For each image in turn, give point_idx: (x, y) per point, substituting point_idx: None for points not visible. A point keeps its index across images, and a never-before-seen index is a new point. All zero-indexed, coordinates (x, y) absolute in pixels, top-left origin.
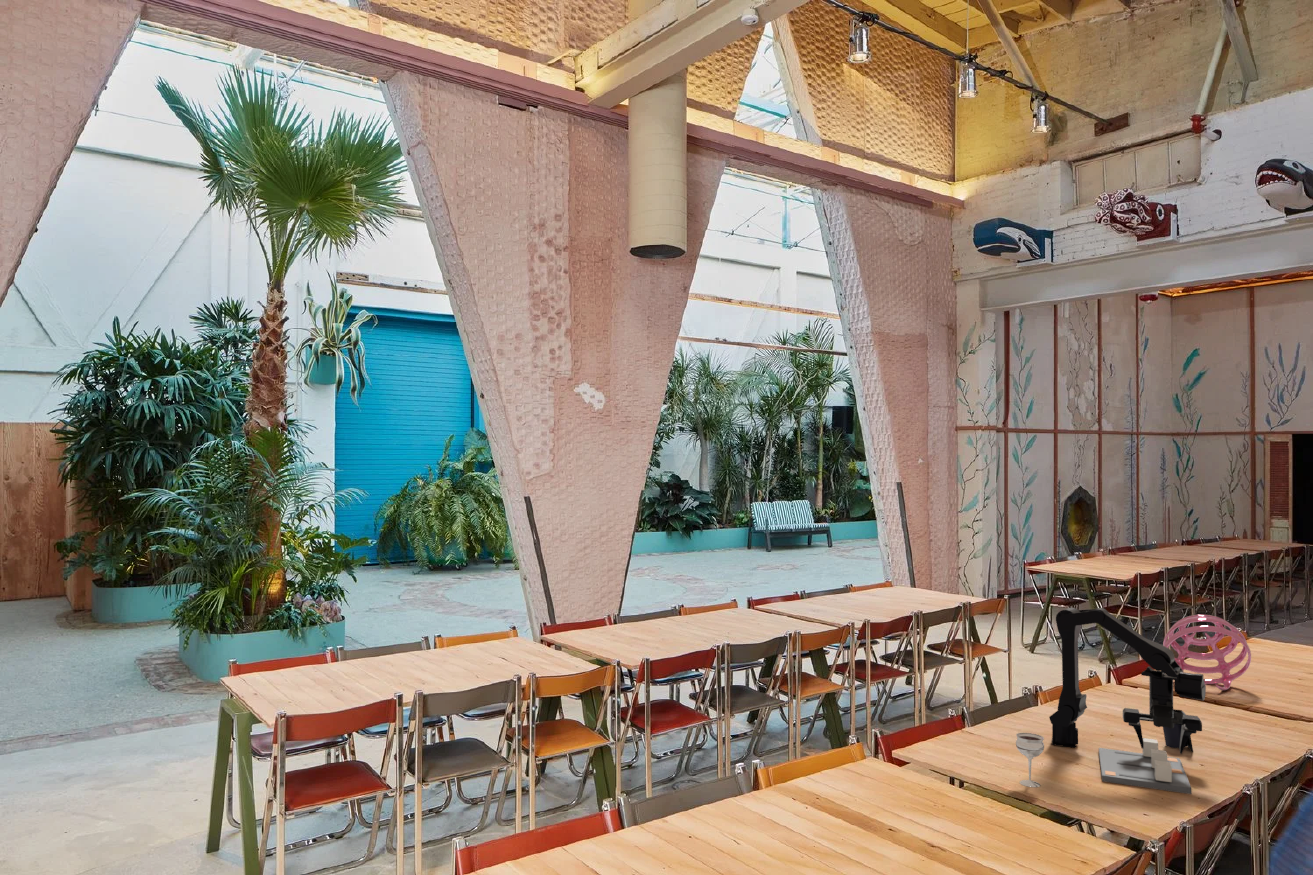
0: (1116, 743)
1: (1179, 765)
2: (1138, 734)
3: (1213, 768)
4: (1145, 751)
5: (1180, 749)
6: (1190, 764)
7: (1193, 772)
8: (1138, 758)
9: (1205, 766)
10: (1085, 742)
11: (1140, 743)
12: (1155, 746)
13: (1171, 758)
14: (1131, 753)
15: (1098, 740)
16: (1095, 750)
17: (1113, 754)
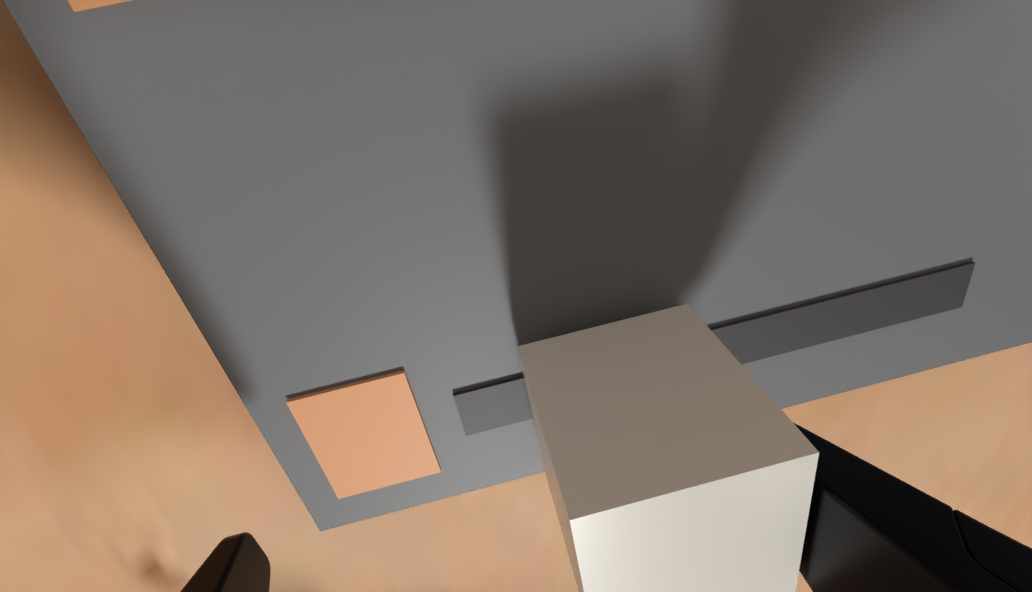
0: (808, 585)
1: (217, 275)
2: (1006, 552)
3: (15, 556)
4: (695, 344)
5: (219, 584)
6: (239, 523)
7: (87, 302)
8: (739, 221)
9: (105, 558)
10: (1025, 478)
11: (813, 437)
12: (593, 453)
13: (386, 466)
14: (790, 359)
15: None
16: (1024, 349)
17: (1013, 181)
